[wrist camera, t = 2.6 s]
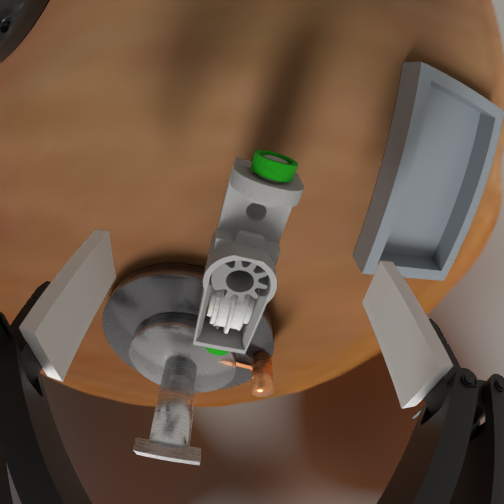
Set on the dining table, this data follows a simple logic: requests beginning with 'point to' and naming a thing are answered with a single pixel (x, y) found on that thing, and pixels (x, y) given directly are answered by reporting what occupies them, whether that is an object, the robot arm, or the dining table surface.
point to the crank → (175, 382)
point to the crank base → (182, 302)
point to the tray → (429, 175)
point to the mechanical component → (246, 251)
